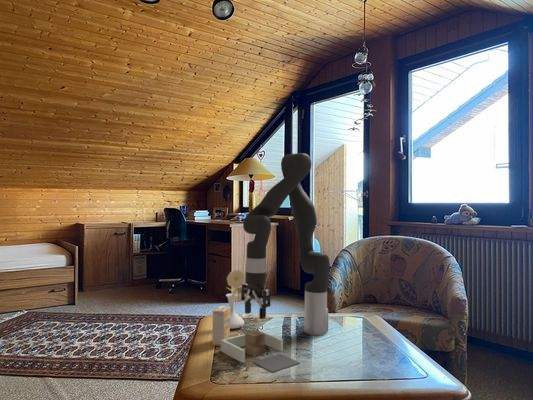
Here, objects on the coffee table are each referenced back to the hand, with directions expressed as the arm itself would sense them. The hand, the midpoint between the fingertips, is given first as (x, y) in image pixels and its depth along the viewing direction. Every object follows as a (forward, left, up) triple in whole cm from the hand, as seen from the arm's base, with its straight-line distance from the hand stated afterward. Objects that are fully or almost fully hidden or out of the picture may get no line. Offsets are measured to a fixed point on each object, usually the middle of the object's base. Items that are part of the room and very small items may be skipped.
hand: (254, 315), depth 143 cm
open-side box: (0, -2, -13) cm, 13 cm away
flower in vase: (-10, -29, -13) cm, 33 cm away
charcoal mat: (0, +12, -13) cm, 18 cm away
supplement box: (+4, -16, -13) cm, 21 cm away
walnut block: (0, 0, -13) cm, 13 cm away
